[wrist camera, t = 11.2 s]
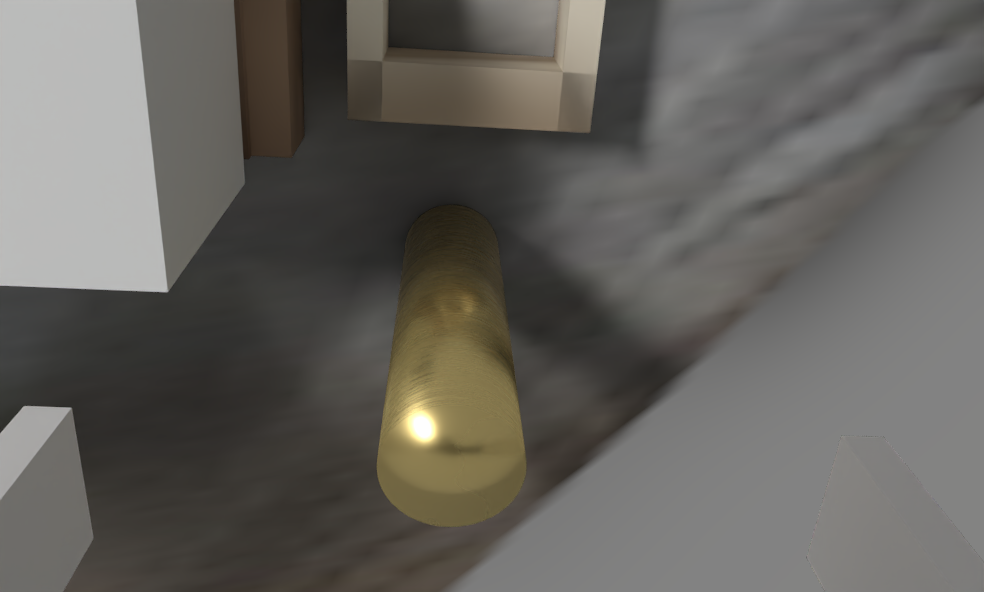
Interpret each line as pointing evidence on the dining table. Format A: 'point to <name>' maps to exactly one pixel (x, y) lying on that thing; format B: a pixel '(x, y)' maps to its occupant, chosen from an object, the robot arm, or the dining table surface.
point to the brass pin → (451, 378)
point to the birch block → (474, 76)
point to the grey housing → (115, 139)
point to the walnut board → (270, 76)
